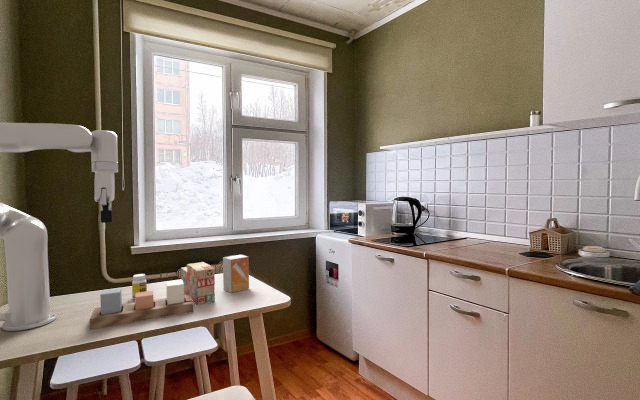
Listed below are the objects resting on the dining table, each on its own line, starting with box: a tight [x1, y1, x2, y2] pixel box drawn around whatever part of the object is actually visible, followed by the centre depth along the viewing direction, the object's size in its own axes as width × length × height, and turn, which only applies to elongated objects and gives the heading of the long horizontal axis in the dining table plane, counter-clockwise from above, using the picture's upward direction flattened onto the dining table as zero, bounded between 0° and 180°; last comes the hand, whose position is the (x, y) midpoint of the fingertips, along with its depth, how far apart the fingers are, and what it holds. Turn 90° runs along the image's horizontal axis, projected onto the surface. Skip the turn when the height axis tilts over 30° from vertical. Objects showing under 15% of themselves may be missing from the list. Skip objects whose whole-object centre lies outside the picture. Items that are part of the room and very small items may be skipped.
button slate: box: [99, 287, 123, 315], centre depth 104 cm, size 5×5×6 cm
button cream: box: [165, 279, 185, 305], centre depth 112 cm, size 5×5×6 cm
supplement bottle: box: [131, 273, 148, 300], centre depth 126 cm, size 5×5×8 cm
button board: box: [89, 294, 194, 330], centre depth 108 cm, size 28×10×3 cm, turn 116°
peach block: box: [134, 290, 154, 310], centre depth 108 cm, size 5×5×6 cm
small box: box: [222, 254, 250, 293], centre depth 134 cm, size 8×6×13 cm
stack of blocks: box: [180, 261, 216, 306], centre depth 127 cm, size 21×6×12 cm, turn 36°
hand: (106, 222), depth 115 cm, fingers closed
